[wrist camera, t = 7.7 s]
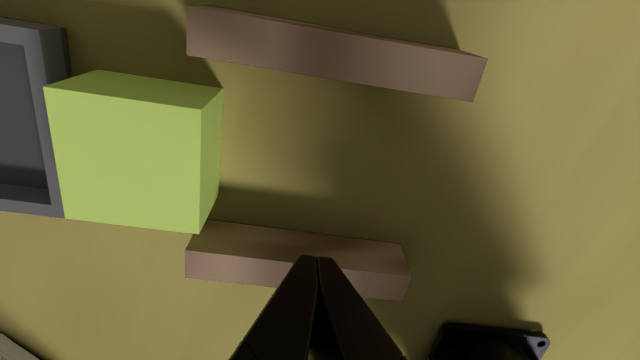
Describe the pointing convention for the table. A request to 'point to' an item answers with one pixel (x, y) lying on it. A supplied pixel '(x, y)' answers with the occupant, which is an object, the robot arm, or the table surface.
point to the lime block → (136, 149)
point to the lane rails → (333, 63)
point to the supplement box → (13, 350)
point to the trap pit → (29, 116)
